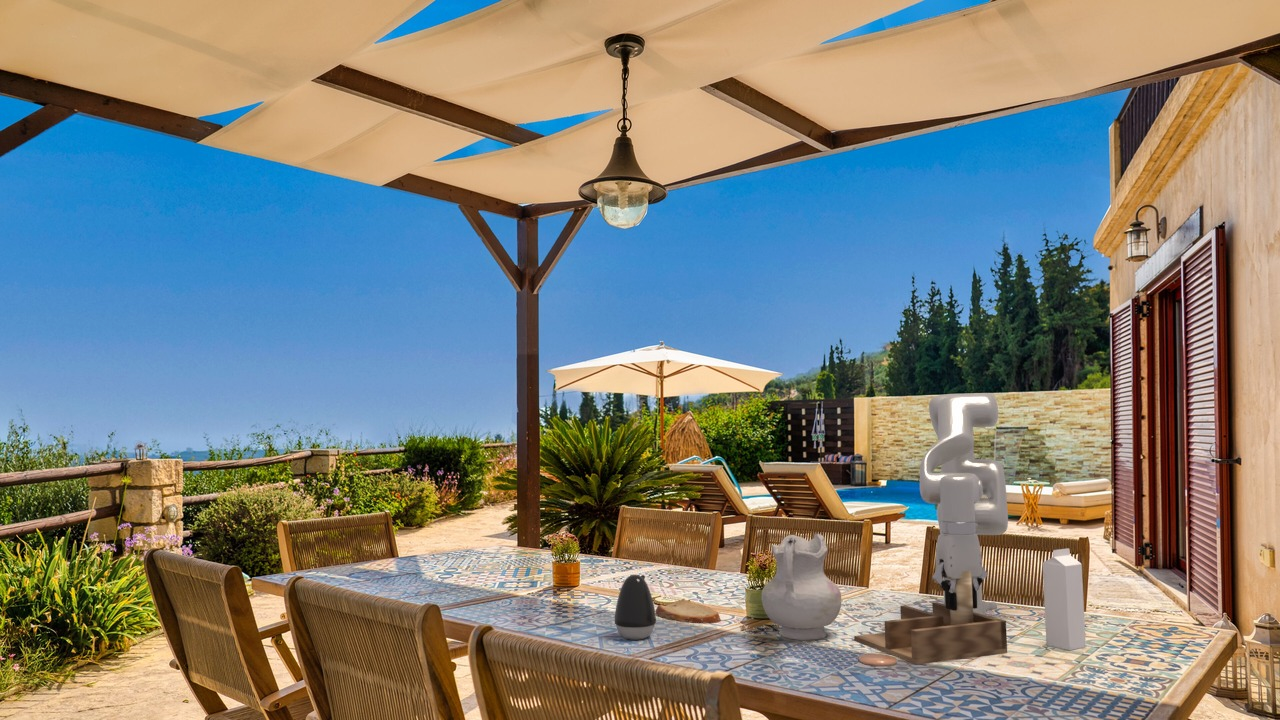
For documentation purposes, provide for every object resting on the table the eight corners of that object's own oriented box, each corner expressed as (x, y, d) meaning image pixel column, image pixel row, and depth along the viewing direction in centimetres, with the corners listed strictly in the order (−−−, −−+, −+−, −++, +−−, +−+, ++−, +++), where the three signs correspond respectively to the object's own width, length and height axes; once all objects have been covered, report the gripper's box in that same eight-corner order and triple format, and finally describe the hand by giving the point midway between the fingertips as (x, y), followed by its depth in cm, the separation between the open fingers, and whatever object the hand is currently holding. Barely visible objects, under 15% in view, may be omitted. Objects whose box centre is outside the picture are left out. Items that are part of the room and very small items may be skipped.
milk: (1086, 647, 203) (1082, 549, 204) (1069, 650, 200) (1065, 551, 201) (1062, 641, 208) (1058, 546, 210) (1045, 645, 205) (1041, 548, 207)
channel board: (938, 630, 221) (937, 602, 221) (1007, 652, 199) (1005, 621, 199) (854, 640, 212) (853, 610, 213) (916, 664, 190) (915, 631, 191)
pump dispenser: (663, 634, 221) (662, 572, 222) (645, 644, 212) (644, 579, 213) (626, 631, 225) (625, 570, 226) (607, 640, 216) (607, 576, 217)
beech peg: (964, 632, 207) (961, 567, 209) (978, 637, 203) (976, 570, 204) (946, 634, 206) (943, 569, 207) (961, 639, 201) (958, 572, 202)
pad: (882, 655, 198) (882, 652, 198) (904, 663, 191) (904, 660, 191) (851, 658, 196) (851, 655, 196) (872, 667, 188) (872, 664, 188)
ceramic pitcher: (840, 652, 205) (845, 544, 207) (755, 643, 209) (761, 536, 211) (838, 632, 226) (843, 533, 228) (761, 623, 230) (767, 526, 232)
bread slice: (721, 624, 232) (721, 610, 233) (652, 624, 234) (652, 610, 234) (720, 610, 250) (720, 597, 251) (657, 610, 252) (656, 596, 252)
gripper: (976, 525, 213) (980, 602, 211) (917, 529, 207) (920, 608, 205) (999, 528, 206) (1002, 608, 204) (938, 532, 200) (941, 614, 198)
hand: (961, 607), depth 205 cm, fingers closed on beech peg, 5 cm apart
